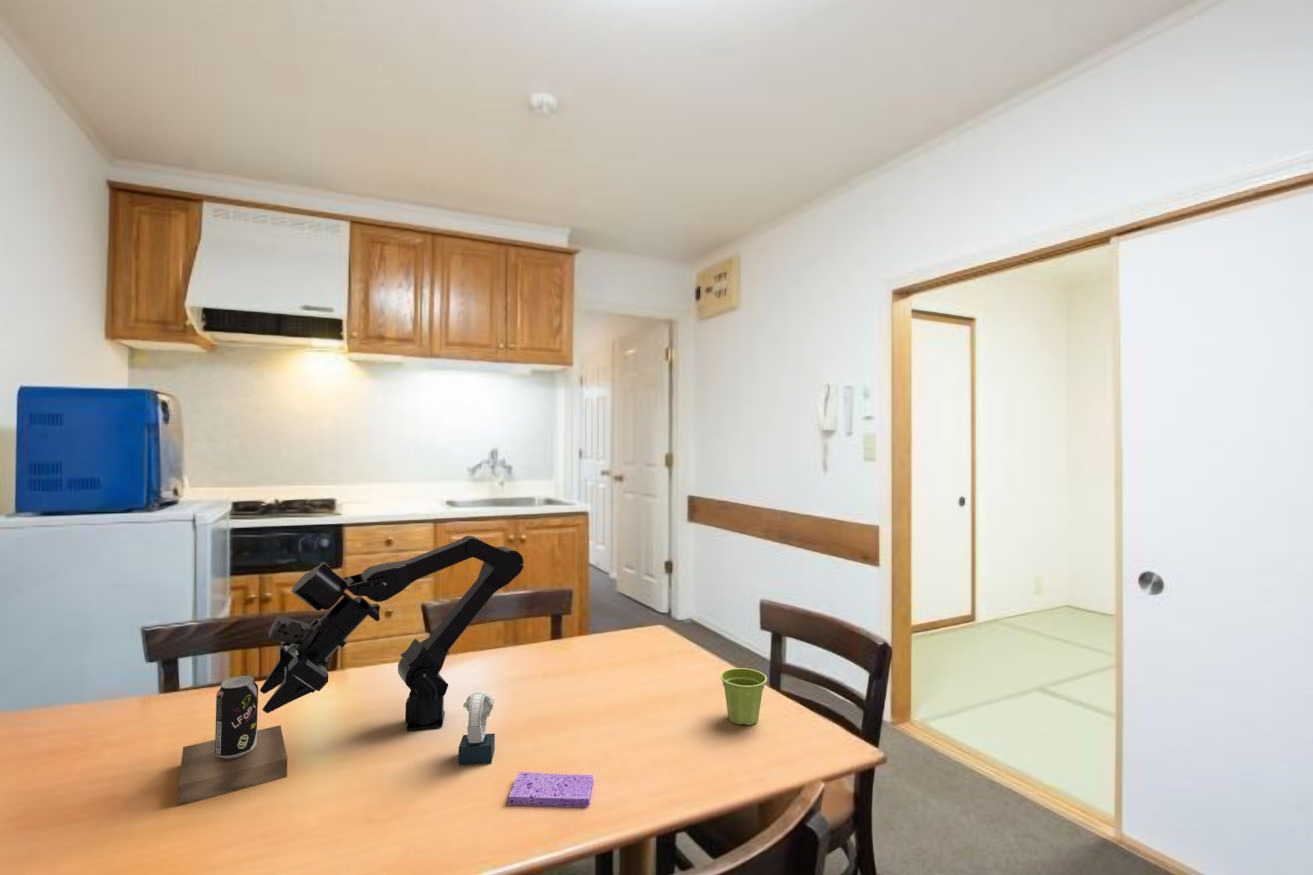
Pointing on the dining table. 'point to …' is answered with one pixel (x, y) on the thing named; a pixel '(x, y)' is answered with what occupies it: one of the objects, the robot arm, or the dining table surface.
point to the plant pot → (743, 694)
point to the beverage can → (236, 717)
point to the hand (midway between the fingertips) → (263, 701)
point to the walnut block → (231, 767)
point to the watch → (477, 731)
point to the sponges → (551, 790)
